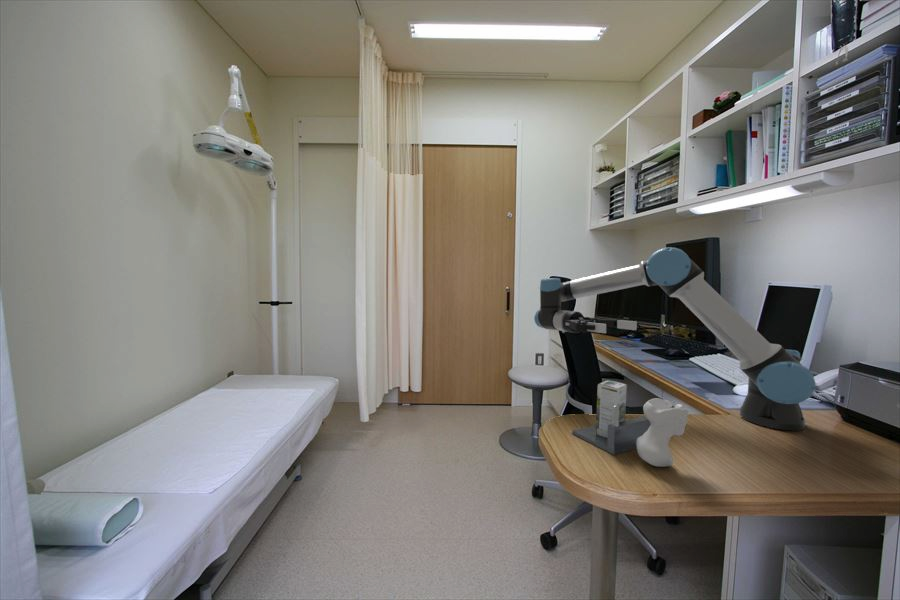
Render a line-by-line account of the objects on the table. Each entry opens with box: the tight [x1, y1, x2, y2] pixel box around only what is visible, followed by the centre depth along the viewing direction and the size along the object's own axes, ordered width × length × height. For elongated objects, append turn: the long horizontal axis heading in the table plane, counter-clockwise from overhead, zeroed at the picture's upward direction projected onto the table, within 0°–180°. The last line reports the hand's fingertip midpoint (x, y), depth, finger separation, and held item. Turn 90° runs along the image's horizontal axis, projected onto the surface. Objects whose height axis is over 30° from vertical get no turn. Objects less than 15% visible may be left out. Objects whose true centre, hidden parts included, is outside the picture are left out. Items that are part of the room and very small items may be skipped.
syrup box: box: [595, 380, 628, 438], centre depth 99 cm, size 6×6×14 cm
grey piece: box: [571, 405, 651, 456], centre depth 99 cm, size 14×14×12 cm
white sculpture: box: [636, 397, 689, 468], centre depth 85 cm, size 10×11×15 cm
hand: (621, 327), depth 110 cm, fingers open, 13 cm apart
